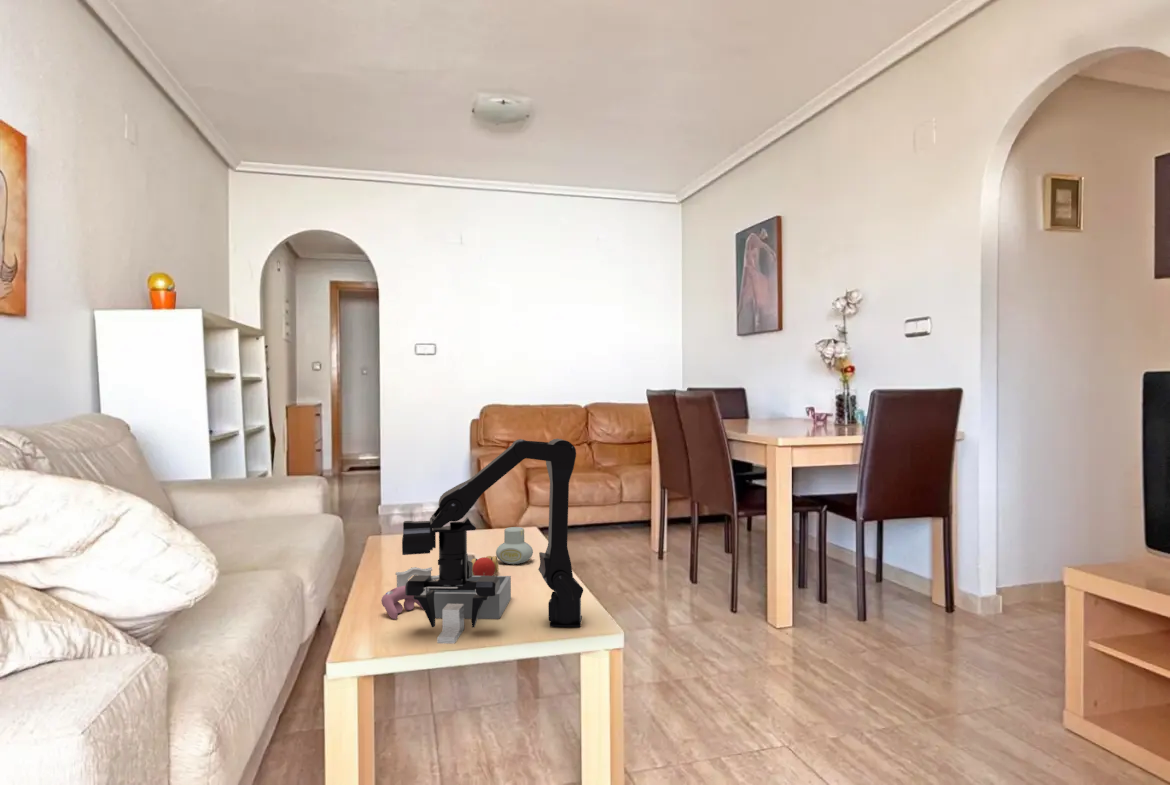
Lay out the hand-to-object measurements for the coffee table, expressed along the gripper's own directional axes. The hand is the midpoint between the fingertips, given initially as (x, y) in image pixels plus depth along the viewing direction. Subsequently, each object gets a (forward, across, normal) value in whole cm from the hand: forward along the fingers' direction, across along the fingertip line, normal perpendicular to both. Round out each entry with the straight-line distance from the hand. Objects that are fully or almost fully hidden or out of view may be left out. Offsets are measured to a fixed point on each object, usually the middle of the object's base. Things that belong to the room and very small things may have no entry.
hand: (453, 626), depth 140 cm
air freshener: (+2, -3, -60) cm, 60 cm away
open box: (+1, 0, -16) cm, 17 cm away
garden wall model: (+2, +17, -31) cm, 35 cm away
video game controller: (+2, +15, -13) cm, 19 cm away
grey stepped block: (+1, 0, +2) cm, 2 cm away
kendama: (+2, +3, -48) cm, 48 cm away
